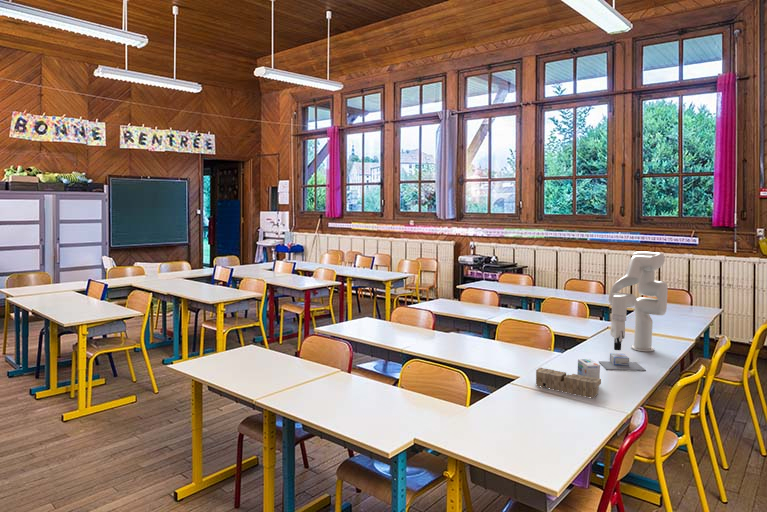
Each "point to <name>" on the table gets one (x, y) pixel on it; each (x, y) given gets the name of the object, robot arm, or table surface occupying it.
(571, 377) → the brown segmented bar
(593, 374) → the light bulb box
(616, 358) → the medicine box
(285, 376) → the table surface
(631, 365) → the mat
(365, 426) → the table surface
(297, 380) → the table surface
